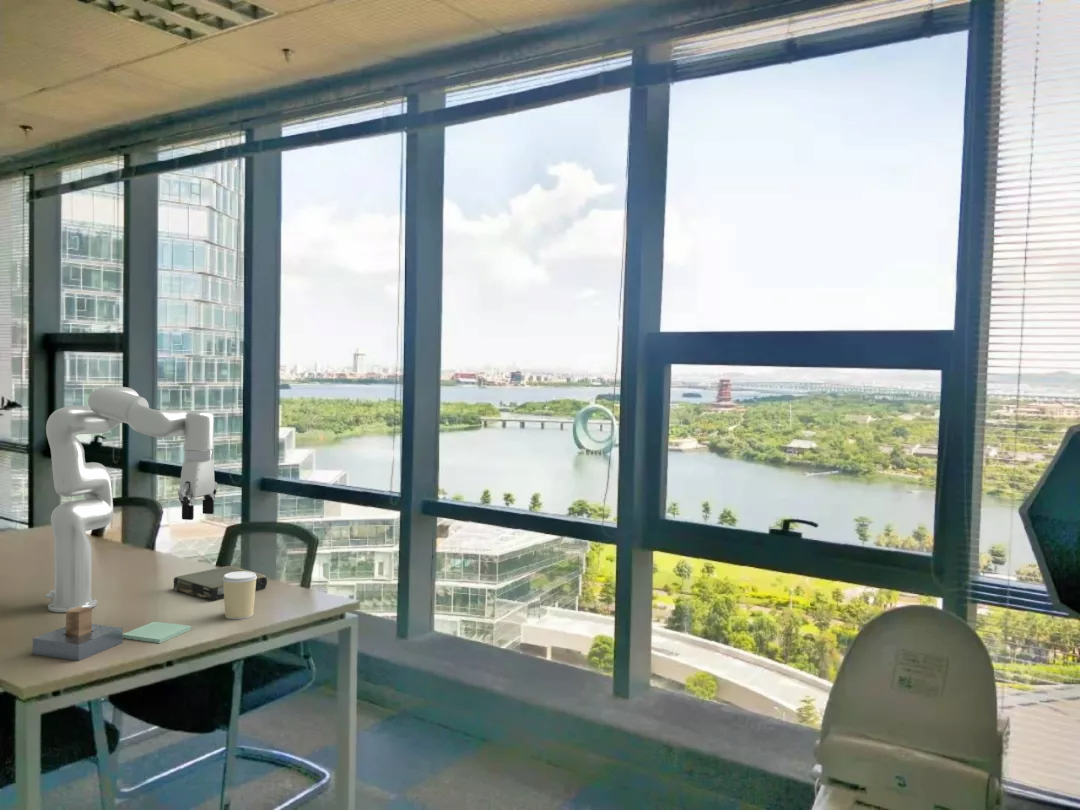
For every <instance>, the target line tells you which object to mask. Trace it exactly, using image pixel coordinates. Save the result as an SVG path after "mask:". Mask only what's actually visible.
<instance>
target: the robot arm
mask: <svg viewBox="0 0 1080 810" xmlns="http://www.w3.org/2000/svg"><path fill="white" fill-rule="evenodd" d="M214 422H215V417H214V414H213V412H209V411H194V410H193V411H192V410H187V409H172V410H171V409H168V410H166V409H165V410H158V409H154V408H150V404H149V402H148V401H147V399H146V398H145V397H143V396H140V395H139V393H138V392H137V391H136V390H134V389H133V388H131V387H126V386H103V387H99V388H96V389H94V390H93V391H91V392H90V394H89V396H88V398H87V405H72V406H71V405H70V406H65V407H61V408H59V409H55V410H54V411H53V412H52V413H51V414H50V415H49V417H48V419H47V420H46V425H45V431H46V438H47V441H48V445H49V448H50V455H51V468H52V476H53V487H54V489H55V492H56V494H57V495H58V496H60V497H66V498H69V497H77V496H78V497H79V496H83V495H84V497H85V498H84V499H77V500H76V499H75V500H71V501H67V502H63V503H61V504H59V505H57V506H56V507H55V508H54V509H53V510H52V512H51V515H50V523H51V528H52V531H53V539H54V540H53V541H54V589H50V590H49V592H48V593H46V594H45V598H46V599H51V602H50V603H49V604H48V606H47V609H48V610H49V611H50V612H54V613H66V611H68V610H71V609H74V608H77V607H85V608H94V607H96V606H97V605H98V599H96V598H93V597H92V557H93V556H92V554H93V553H92V552H93V551H92V544H91V541H90V539H89V537H88V536H87V534H86V532H88V531H93V530H98V529H102V528H104V527H107V526H108V525H109V524H110V523H111V521H112V520H113V517H114V502H113V501H114V498H113V489H112V480H111V475H110V473H109V471H108V469H107V468H106V466H105V465H103V464H102V463H99V462H94V461H93V462H92V461H91V462H86V458H85V449H84V446H83V444H82V442H81V441H80V439H78V438H77V437H76V436H79V435H92V434H95V435H96V434H103V433H107V432H109V431H112V430H113V429H115V428H116V427H117V426H119V425H120V424H121V423H124V424H127V425H128V426H129V427H130V428H131V430H133V431H135V432H137V433H138V434H142V435H147V436H150V437H153V438H159V439H163V438H164V439H165V438H175V437H176V438H177V437H184V449H183V450H184V452H183V453H184V454H183V455H184V456H183V458H184V459H183V460H184V461H183V463H182V467H181V471H180V483H179V485H180V486H179V489H178V490H177V495H178V499H179V502H180V506H181V520H185V521H187V520H188V521H192V520H194V517H195V516H194V510H195V507H194V504H193V503H194V501H195V499H196V498H200V497H203V498H204V499H202V514H203V515H213V514H214V513H215V512H214V511H215V507H214V506H215V499H216V494H217V489H218V485H219V484H218V482H217V481H215V467H214V448H215V447H214V442H215V441H214V437H215V436H214V435H215V432H214V430H215V423H214Z"/></svg>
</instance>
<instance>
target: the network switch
mask: <svg viewBox="0 0 1080 810" xmlns="http://www.w3.org/2000/svg"><path fill="white" fill-rule="evenodd" d="M238 571H249V572H252V571H251V570H248V569H244V568H240V567H236V566H233V565H232V566H231V565H226V566H220V567H217V568H212V569H209V570H208V569H206V570H202V571H198V572H192V573H188V574H187V573H186V574H183V575H179V576H174V578H173V591H179V592H181V593H182V592H183V593H185V594H188V595H191V596H194V597H200V598H204V599H205V600H206V599H207V600H209V601H210V602H216V601H219V600H221V599H224V582H223V577H224V575H225V574H227V573H231V572H238ZM253 572H254V571H253ZM254 573H255V574H256V576H257V579H256V589H255V592H258V591H263V590H266V588H267V585H268V579H267V577H266V575H264V574H262V573H258V572H254Z"/></svg>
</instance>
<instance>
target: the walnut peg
mask: <svg viewBox="0 0 1080 810" xmlns="http://www.w3.org/2000/svg"><path fill="white" fill-rule="evenodd" d="M92 608H93V607H92ZM92 608H85V607H77V608H74V609H71V610H68V611H66V612H65V627H66V635H68V636H76V637H80V636H83V635H85V634H88V633H91V628H92V624H93V621H92V617H93V615H92V614H93V613H92V610H93V609H92Z"/></svg>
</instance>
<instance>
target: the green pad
mask: <svg viewBox="0 0 1080 810" xmlns="http://www.w3.org/2000/svg"><path fill="white" fill-rule="evenodd" d="M191 630H192V626H191V625H185V624H178V623H170V622H169V623H168V622H160V621H151V622H150V623H146V624H145V625H142V626H140V627H136V628H135V629H132V630H129V631H127V632H124V633H122V639H124V638H126V640H132V639H133V640H134V641H139V640H140V641H141V642H146V643H147V642H148V643H155V644H161V643H163V642H166V641H168V640H171V639H172V638H175V637H177V636H180V635H181V634H184V633H187V632H189V631H191ZM133 640H132V641H133Z"/></svg>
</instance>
